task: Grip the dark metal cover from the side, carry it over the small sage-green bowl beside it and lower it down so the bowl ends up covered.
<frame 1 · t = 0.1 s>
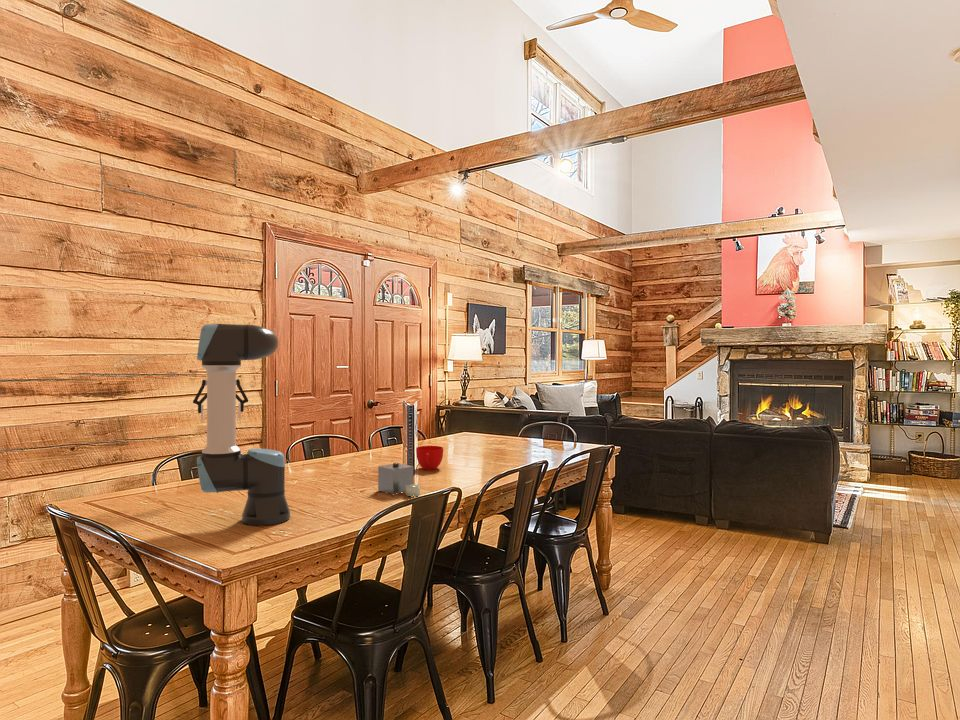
hand: (221, 420, 241), 28 cm above the table, tool pointing down, fingers open, 13 cm apart
ceramic cup: (429, 469, 288), on the table
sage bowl: (412, 496, 236), on the table
metal cover: (395, 491, 244), on the table
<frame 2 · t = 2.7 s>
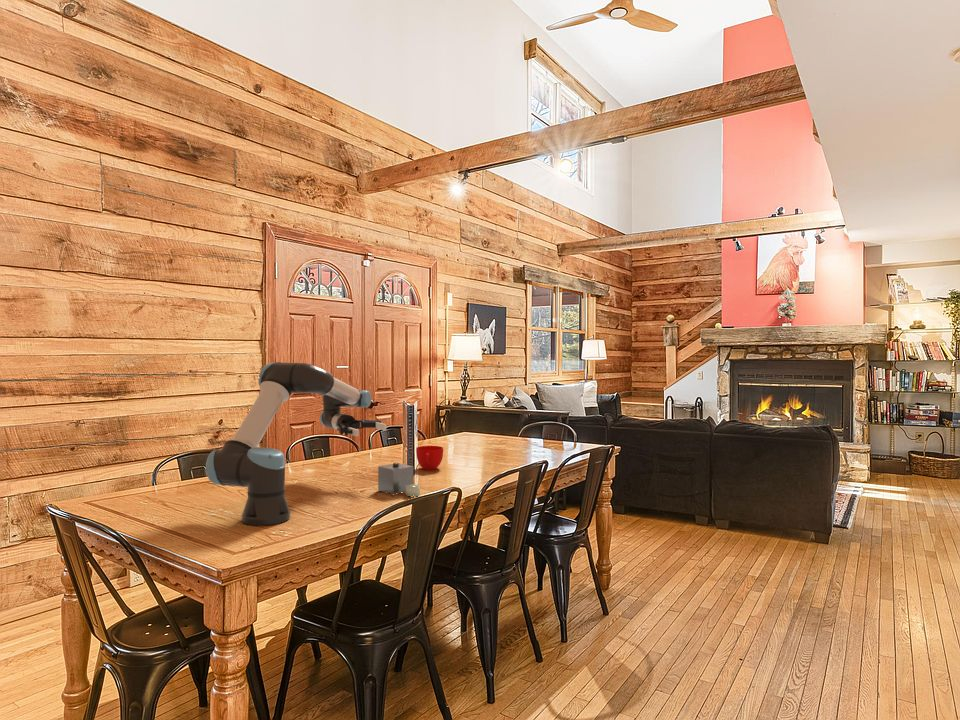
hand: (372, 430, 250), 24 cm above the table, tool horizontal, fingers open, 13 cm apart
nothing on the table moved.
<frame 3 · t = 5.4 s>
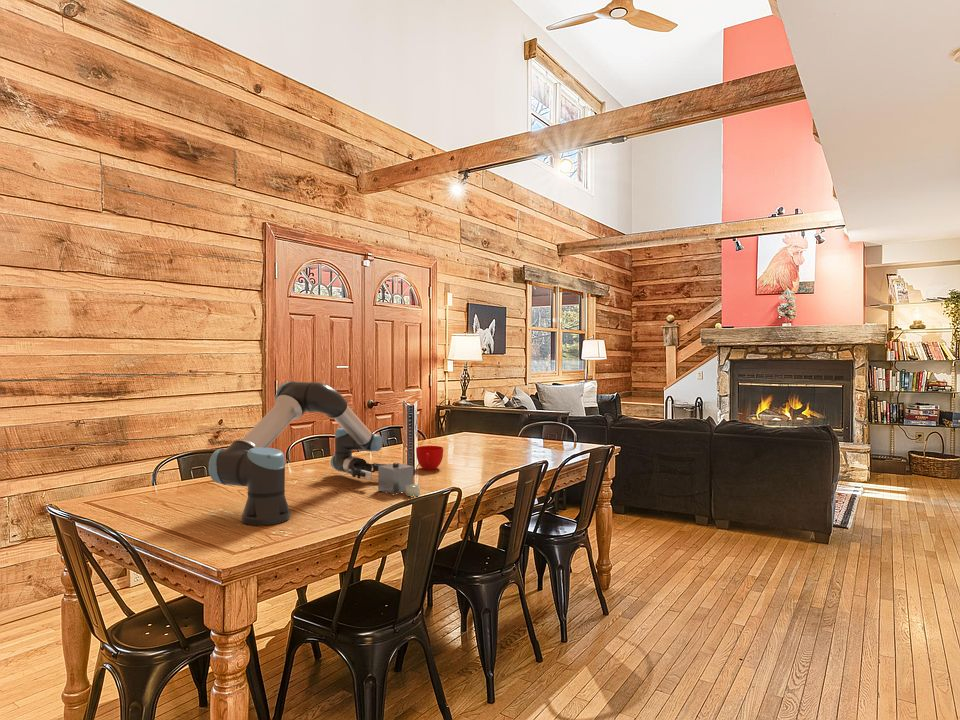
hand: (384, 473, 249), 6 cm above the table, tool horizontal, fingers open, 13 cm apart
nothing on the table moved.
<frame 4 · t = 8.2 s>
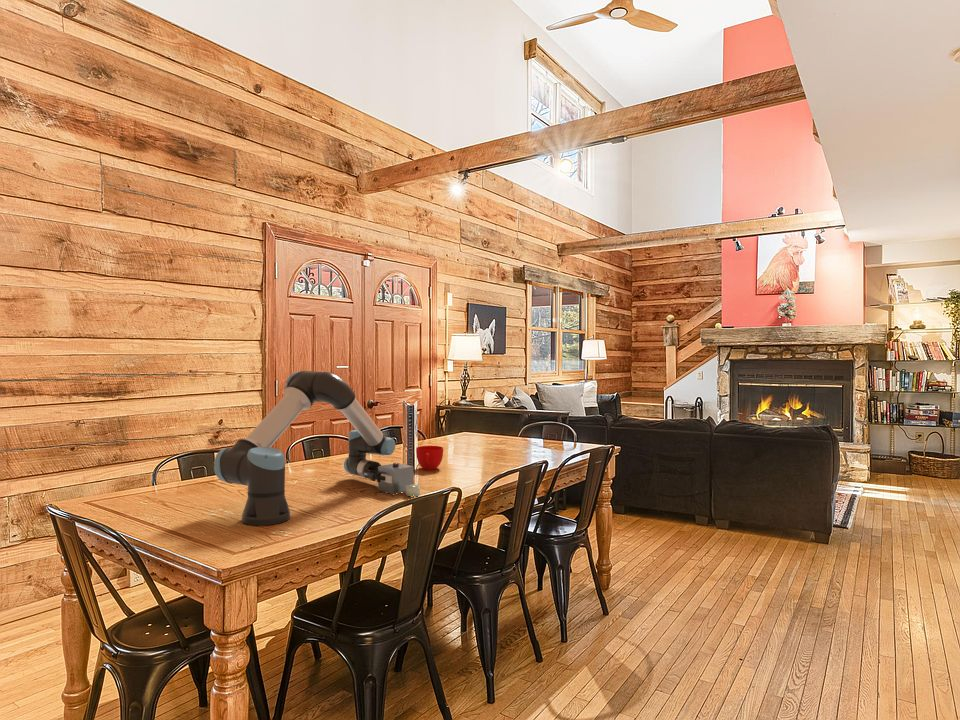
hand: (402, 477, 241), 6 cm above the table, tool horizontal, fingers closed on metal cover, 10 cm apart
metal cover: (395, 491, 244), on the table, touching gripper
everything else where it was.
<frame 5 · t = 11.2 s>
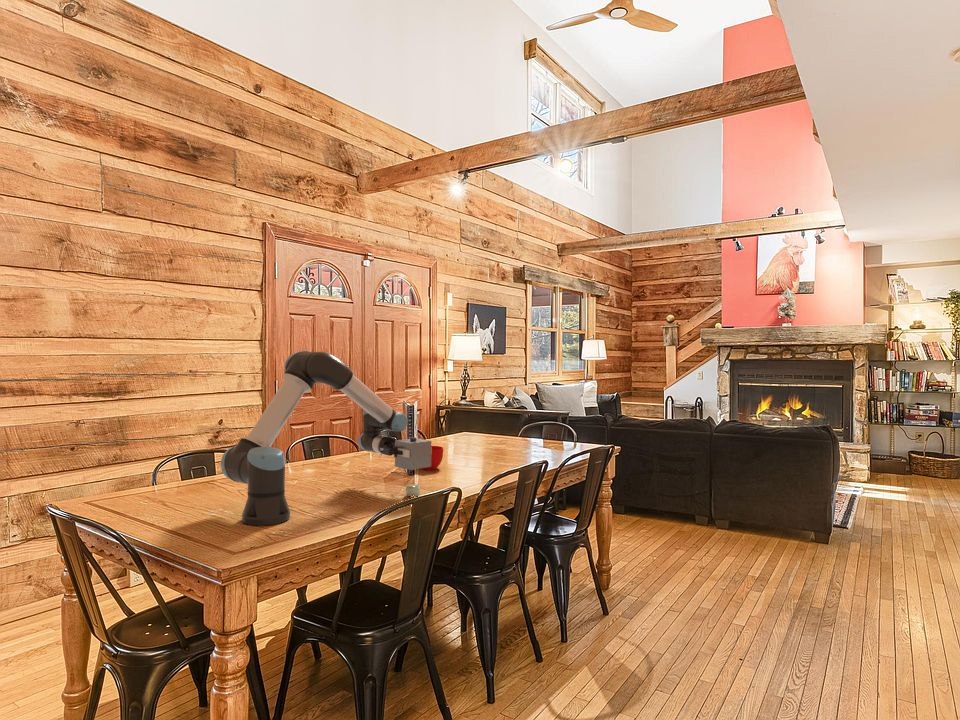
hand: (420, 452, 233), 18 cm above the table, tool horizontal, fingers closed on metal cover, 10 cm apart
metal cover: (413, 466, 236), point 12 cm above the table, touching gripper
everything else where it was.
when the fingers open (7 cm above the table, at t = 14.3 s): metal cover drops 1 cm, on the table.
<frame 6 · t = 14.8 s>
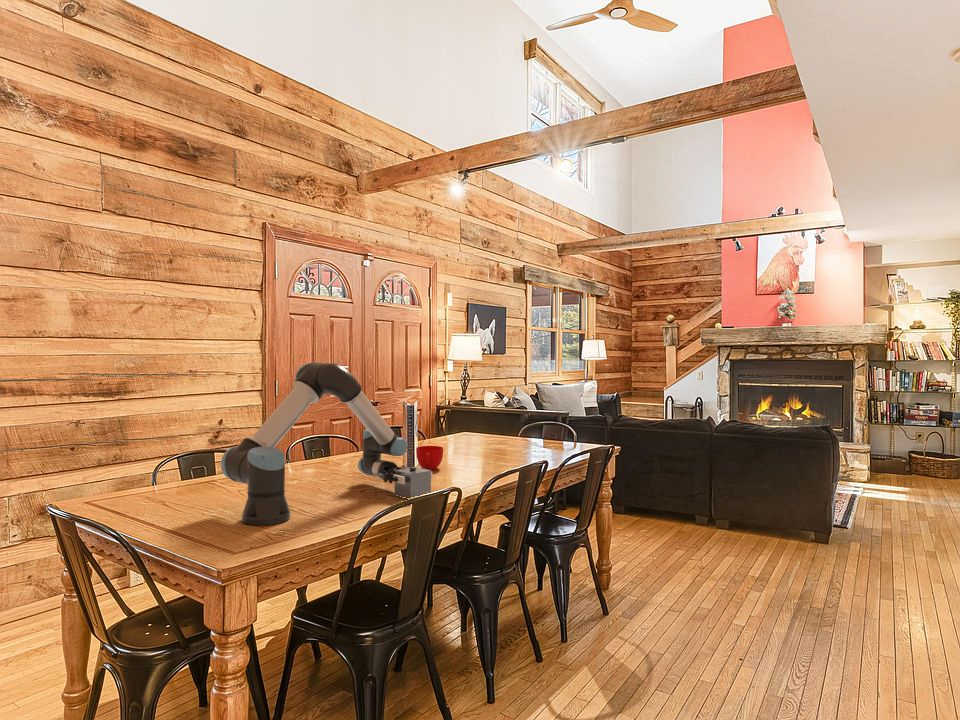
hand: (418, 478, 233), 7 cm above the table, tool horizontal, fingers open, 13 cm apart
metal cover: (412, 495, 236), on the table
everything else where it was.
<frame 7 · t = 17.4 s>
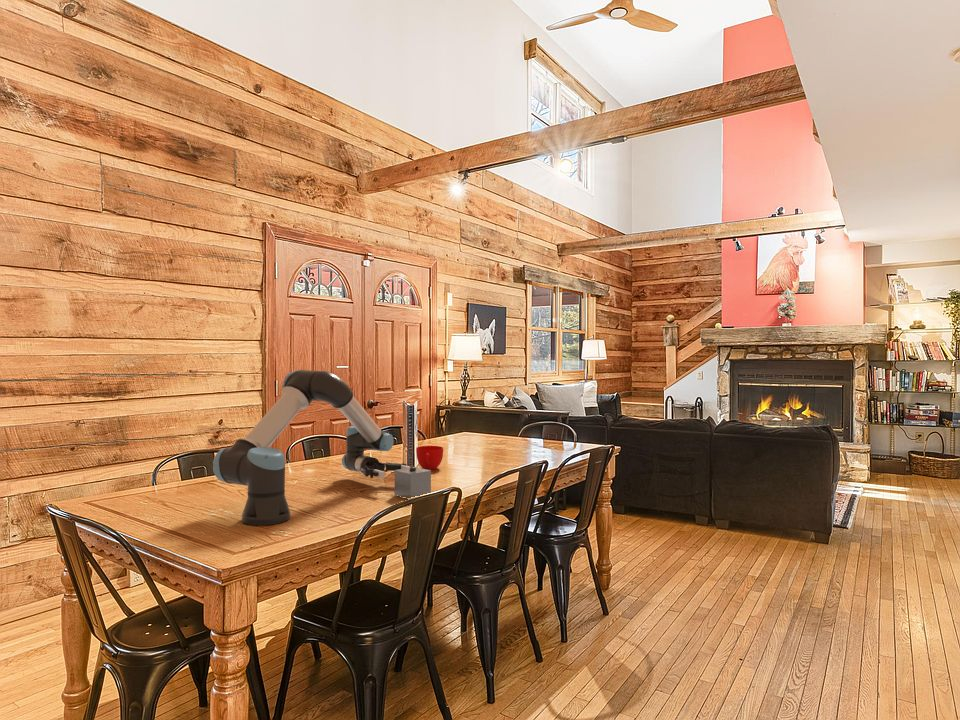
hand: (398, 473, 242), 8 cm above the table, tool horizontal, fingers open, 13 cm apart
nothing on the table moved.
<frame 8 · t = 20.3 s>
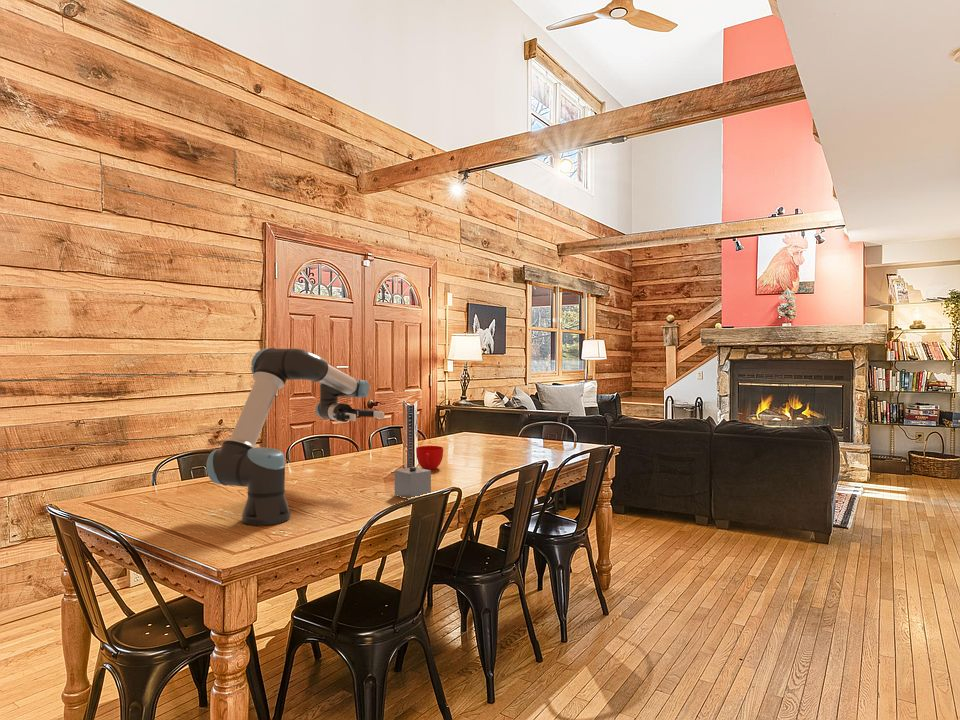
hand: (369, 416, 243), 30 cm above the table, tool horizontal, fingers open, 13 cm apart
nothing on the table moved.
at the end: metal cover 0.0 cm off-centre on the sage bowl, point 0.1 cm above the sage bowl's base; metal cover tilted 0°; the gripper is holding nothing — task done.
